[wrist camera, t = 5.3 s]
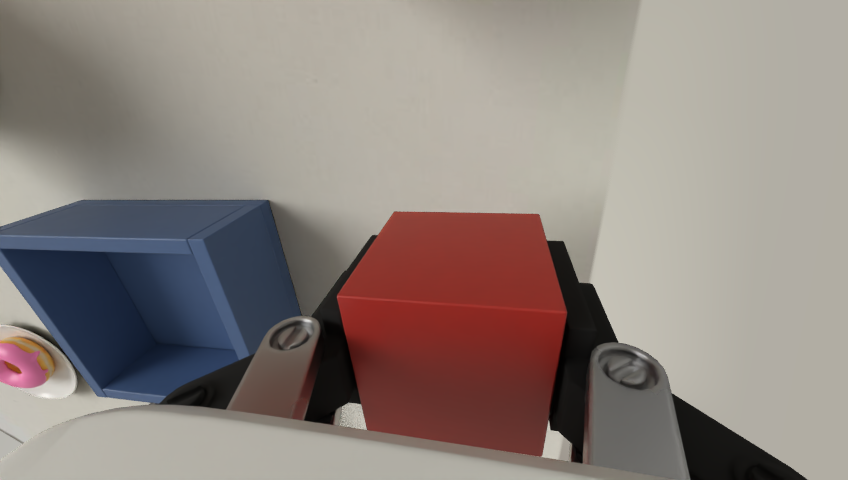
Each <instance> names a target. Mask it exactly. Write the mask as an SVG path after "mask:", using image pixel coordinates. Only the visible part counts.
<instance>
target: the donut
mask: <svg viewBox="0 0 848 480" xmlns="http://www.w3.org/2000/svg"><path fill="white" fill-rule="evenodd" d="M0 382H3V383H6V384H8V385H11V386H13V387H16V388H17V389H19V390H21V391H23V392H26V393H28V394H30V395H33V396H36V397H40V398H45V399H63V398H66V397H68V396H70V395H71V394H73V393H74V391H75V390H76V387H77V376H76V373H75V370H74V368H73V366H72V365H71V363H70V361H69V360H68V359H67V357H66V356H65V355H64V354H63V353H62V352H61V351H60V350H59V349H58V348H57V347H56V346H54V345H53V344H52V343H51V342H49V341H48V340H46V339H44V338H43V337H41V336H39V335H37V334H35V333H33V332H31V331H28V330H25V329H23V328H20V327H15V326H11V325H0ZM30 395H29V396H30Z"/></svg>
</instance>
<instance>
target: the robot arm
mask: <svg viewBox="0 0 848 480" xmlns="http://www.w3.org/2000/svg"><path fill="white" fill-rule="evenodd" d="M377 236H378V235H372V236H371V237H370V239H369V240H368V241H367V243H366V244H365V246H364V247H363V248H362V250H361V251H360V253H359V254H358V255H357V257H356V258H355V260H354V261H353V262H352V264H351V265H350V267H349V268H348V269H347V271H345V272H344V273H343V274H342V275H341V276H340V278H339V279H338V280H337V282H336V283H335V285H334V286H333V287H332V289H331V290H330V292H329V293H328V294H327V296H326V297H325V298H324V300H323V301H322V303H321V304H320V305H319V307H318V308H317V309H316V311H315V312H314V314H313V315H312V316H311V317H309V316H297V317H291V318H289V319H286V320H283V321H281V322H280V323H278V324H276V325H275V326H273V327H272V328H271V329H270V330H269V331H268V332H267V334H266V335H265V336H264V338H263V340H262V342H261V344H260V346H259V348H258V350H257V351H256V353H254V354H252V355H250V356H248V357H245V358H243V359H241V360H238V361H236V362H234V363H232V364H229V365H227V366H225V367H222V368H220V369H218V370H216V371H213V372H211V373H209V374H206V375H204V376H202V377H200V378H197V379H195V380H193V381H190V382H188V383H186V384H184V385H182V386H180V387H179V388H177V389H175V390H174V391H173V392H171V393H170V394H169V395H167V396H166V397H165V398H164V399H163V400H162V401H161V402H160V403H159V405H156V404H155V403H152V404H149V405H140V406H131V407H122V408H115V409H110V410H105V411H101V412H96V413H91V414H88V415H84V416H81V417H78V418H75V419H72V420H69V421H66V422H63V423H61V424H58V425H55V426H53V427H51V428H49V429H47V430H45V431H43V432H41V433H39V434H38V435H36V436H34V437H33V438H31V439H30V440H28V441H26V442H25V443H23V444H22V445H20V446H19V447H18V448H16V449H15V450H13V451H12V452H11V453H9V454H8V455H6V456H5V457H3V458H2V459H1V460H0V480H807V479H806V478H805V477H803V476H802V475H800V474H799V473H798V472H796V471H795V470H793V469H792V468H791V467H789V466H788V465H786V464H784V463H783V462H781V461H779V460H778V459H776V458H775V457H773V456H772V455H770V454H768V453H767V452H765V451H764V450H762V449H760V448H759V447H757V446H755V445H754V444H752V443H751V442H749V441H747V440H746V439H744V438H743V437H741V436H739V435H738V434H736V433H735V432H733V431H732V430H730V429H728V428H727V427H725V426H724V425H722V424H720V423H718V422H717V421H716V420H714V419H712V418H710V417H709V416H707V415H706V414H704V413H703V412H701V411H699V410H698V409H696V408H695V407H693V406H691V405H690V404H688V403H686V402H685V401H683V400H682V399H680V398H679V397H677V396H675V395H674V394H672V393H671V389H670V385H669V381H668V377H667V374H666V372H665V370H664V368H663V367H662V366H661V365H660V364H659V362H658V361H657V360H656V359H654V358H653V357H652V356H651V355H649V354H648V353H646V352H644V351H642V350H640V349H639V348H636V347H633V346H630V345H627V344H623V343H618V341H617V338H616V336H615V334H614V331H613V329H612V327H611V324H610V322H609V320H608V318H607V315H606V313H605V311H604V309H603V306H602V304H601V301H600V299H599V297H598V295H597V293H596V290H595V288H594V286H593V284H590V283H579V281H578V279H577V276H576V273H575V271H574V268H573V265H572V263H571V260H570V257H569V255H568V252H567V249H566V247H565V244H564V242H563V241H547V243H548V247H549V250H550V254H551V257H552V261H553V264H554V268H555V271H556V275H557V278H558V282H559V285H560V289H561V292H562V296H563V299H564V303H565V306H566V310H567V318H566V323H565V329H564V335H563V340H562V346H561V352H560V357H559V363H558V369H557V374H556V380H555V386H554V391H553V397H552V403H551V408H550V414H549V422H550V429H551V430H553V431H559V432H560V433H561V434H562V435H563V436H564V437H565V438H566V439H567V440H568V441H570V448H569V462H568V461H562V460H556V459H549V458H543V457H537V456H531V455H524V454H518V453H512V452H505V451H499V450H493V449H487V448H480V447H474V446H467V445H461V444H454V443H448V442H441V441H435V440H428V439H422V438H415V437H409V436H402V435H396V434H389V433H382V432H376V431H369V430H363V429H356V428H350V427H343V426H339V424H340V419H341V414H342V406H344V405H345V404H347V403H349V402H350V403H357V404H361V401H360V396H359V392H358V388H357V383H356V379H355V374H354V370H353V366H352V361H351V357H350V352H349V348H348V344H347V339H346V335H345V330H344V326H343V322H342V317H341V313H340V308H339V304H338V300H337V295H338V293H339V292H340V290H341V289H342V288H343V286H344V285H345V283H346V282H347V280H348V279H349V277H350V276H351V274H352V273H353V271H354V270H355V268H356V267H357V265H358V264H359V263H360V261H361V260H362V258H363V257H364V255H365V254H366V252H367V251H368V249H369V248H370V246H371V245H372V243H373V242H374V240H375V239H376V238H377Z"/></svg>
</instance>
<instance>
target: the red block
mask: <svg viewBox="0 0 848 480" xmlns="http://www.w3.org/2000/svg"><path fill="white" fill-rule="evenodd" d="M337 300H338V304H339V308H340V313H341V317H342V322H343V326H344V330H345V335H346V339H347V344H348V348H349V352H350V357H351V361H352V366H353V370H354V374H355V379H356V383H357V388H358V392H359V396H360V401H361V405H362V410H363V414H364V418H365V423H366V427H367V430H369V431H376V432H382V433H389V434H396V435H402V436H409V437H415V438H422V439H428V440H435V441H441V442H448V443H454V444H461V445H467V446H474V447H480V448H487V449H493V450H500V451H506V452H513V453H519V454H526V455H532V456H539V457H541V456H542V454H543V448H544V443H545V437H546V431H547V426H548V420H549V414H550V408H551V403H552V397H553V391H554V386H555V380H556V374H557V369H558V363H559V357H560V352H561V346H562V340H563V335H564V329H565V323H566V318H567V310H566V306H565V303H564V299H563V296H562V292H561V289H560V285H559V282H558V278H557V275H556V271H555V268H554V264H553V261H552V257H551V254H550V250H549V247H548V243H547V240H546V236H545V233H544V229H543V226H542V222H541V219H540V215H539V214H508V213H449V212H394V213H393V214H392V216H391V217H390V218H389V220H388V221H387V223H386V224H385V226H384V227H383V229H382V230H381V232H380V233H379V235H378V236H377V238H376V239H375V240H374V242H373V243H372V245H371V246H370V248H369V249H368V251H367V252H366V254H365V255H364V257H363V258H362V260H361V261H360V263H359V264H358V265H357V267H356V268H355V270H354V271H353V273H352V274H351V276H350V277H349V279H348V280H347V282H346V283H345V285H344V286H343V288H342V289H341V290H340V292H339V293H338V295H337Z"/></svg>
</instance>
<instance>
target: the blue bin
mask: <svg viewBox="0 0 848 480" xmlns="http://www.w3.org/2000/svg"><path fill="white" fill-rule="evenodd" d="M0 266H1V267H2V269H3V270H4V272H5V273H6V274H7V276H8V277H9V278H10V280H11V281H12V282H13V284H14V285H15V286H16V288H17V289H18V290H19V292H20V293H21V294H22V296H23V297H24V298H25V300H26V301H27V302H28V304H29V305H30V306H31V308H32V309H33V310H34V312H35V313H36V314H37V316H38V317H39V318H40V320H41V321H42V323H43V324H44V325H45V327H46V328H47V329H48V331H49V332H50V333H51V335H52V336H53V337H54V339H55V340H56V341H57V343H58V344H59V345H60V347H61V348H62V349H63V351H64V352H65V353H66V355H67V356H68V357H69V359H70V360H71V361H72V363H73V364H74V365H75V367H76V368H77V370H78V371H79V372H80V374H81V375H82V376H83V378H84V379H85V380H86V382H87V383H88V384H89V386H90V387H91V388H92V390H93V391H94V392H95V394H96V395H97V396H99V397H109V398H117V399H125V400H133V401H142V402H150V403H158V404H159V403H160V402H161V401H162V400H163V399H164V398H165V397H166V396H167V395H169V394H170V393H171V392H173V391H174V390H175V389H177V388H179V387H180V386H182V385H184V384H186V383H188V382H190V381H193V380H195V379H197V378H200V377H202V376H204V375H206V374H209V373H211V372H213V371H216V370H218V369H220V368H222V367H225V366H227V365H229V364H232V363H234V362H236V361H238V360H241V359H243V358H245V357H248V356H250V355H252V354H254V353H256V351H257V350H258V348H259V346H260V344H261V342H262V340H263V338H264V336H265V335H266V334H267V332H268V331H269V330H270V329H271V328H272V327H273V326H275V325H276V324H278V323H280V322H281V321H283V320H286V319H289V318H291V317H297V316H301V312H300V309H299V305H298V302H297V298H296V295H295V291H294V288H293V285H292V281H291V278H290V274H289V271H288V267H287V264H286V260H285V257H284V253H283V250H282V246H281V243H280V239H279V236H278V232H277V229H276V225H275V222H274V219H273V215H272V212H271V208H270V205H269V201H268V200H80V201H77V202H74V203H71V204H69V205H65V206H62V207H59V208H56V209H53V210H50V211H47V212H44V213H41V214H38V215H35V216H32V217H29V218H25V219H22V220H19V221H16V222H13V223H10V224H7V225H4V226H1V227H0Z"/></svg>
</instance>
